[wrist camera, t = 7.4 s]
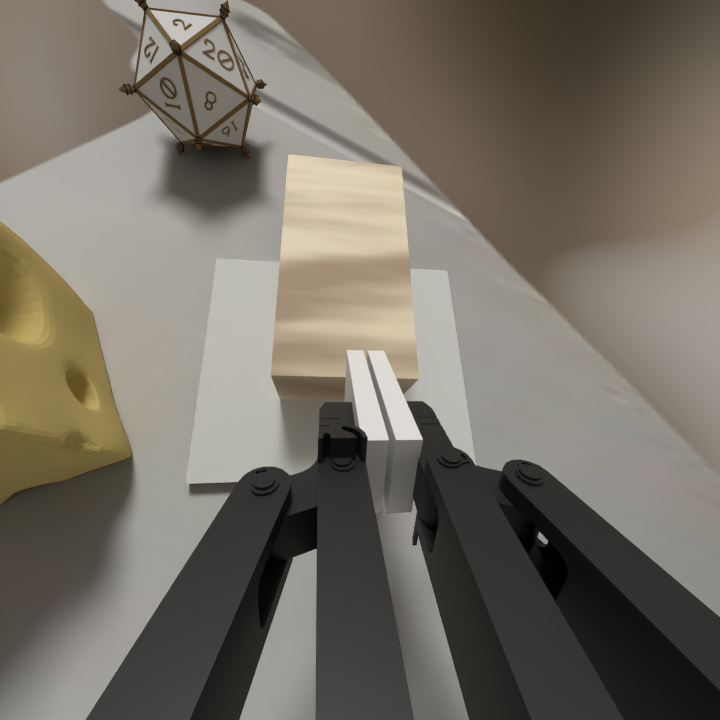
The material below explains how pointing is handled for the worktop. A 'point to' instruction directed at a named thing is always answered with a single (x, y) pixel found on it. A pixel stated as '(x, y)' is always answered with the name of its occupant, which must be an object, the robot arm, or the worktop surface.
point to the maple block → (341, 277)
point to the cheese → (50, 377)
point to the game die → (194, 77)
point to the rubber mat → (298, 416)
